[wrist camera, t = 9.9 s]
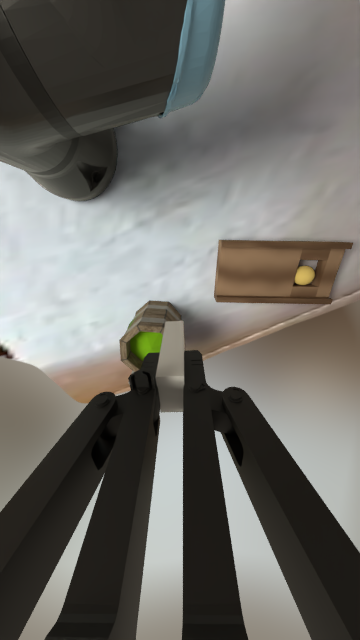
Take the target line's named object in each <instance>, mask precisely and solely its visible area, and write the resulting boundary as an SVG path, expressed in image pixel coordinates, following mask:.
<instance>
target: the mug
mask: <svg viewBox="0 0 360 640" xmlns="http://www.w3.org/2000/svg"><path fill="white" fill-rule="evenodd" d="M167 321H181V315H180V314H179V312H178V311H177V310H176V309H175V308H174V307H173V306H172V305H171V304H170V303H169V302H162V301H148V302H147V303H146V304H145V305H144V306H143V307H142V308H140V309H139V310H138V311H137V312H136V315H135V317H134V319H133V320H132V322H131V323H130V324H129V326H128V329H127V331H126V333H125V335H124V336H123V337H122V338H121V339H120V354H121V361H122V362H123V363H124V364H125V365H127V366H128V367H129V368H130V369H131V370H133V371H132V373H134V372H136V371H138V370H141V368H142V364H143V361H144V357H145V356H146V355H147V354H148V353H157V352H160V350H161V344H162V339H163V333H164V328H165V322H167ZM129 384H130V383H129Z"/></svg>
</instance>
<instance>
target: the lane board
mask: <svg viewBox="0 0 360 640" xmlns="http://www.w3.org/2000/svg"><path fill="white" fill-rule="evenodd" d="M352 245H353V243H350V242H318V241H250V240H219V246H218V257H217V268H216V279H215V290H214V298H215V300H216V302H236V303H291V304H331V303H332V300H333V299H331V298H329V294H330V292H331V289H332V286H333V283H334V280H335V277H336V274H337V272H338V269H339V266H340V263H341V260H342V257H343V255H344V252H345V249H351V248H352ZM300 260H318V263H317V267H316V270H315V277H314V279H313V280H312V283H311V284H306V285H299V284H293V283H294V280H295V276H296V272H297V268H298V264H299V261H300Z"/></svg>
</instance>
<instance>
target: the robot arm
mask: <svg viewBox="0 0 360 640" xmlns="http://www.w3.org/2000/svg"><path fill="white" fill-rule="evenodd" d="M224 6H225V0H0V161H1V162H4V163H6V164H9V165H11V166H14V167H17V168H19V169H22V170H24V171H26V172H27V173H28V174H29V175H30V176H31V177H32V178H33V179H34V180H35V181H36V182H37V183H38V184H39V185H40V186H42V187H43V188H44V189H46V190H47V191H49V192H51V193H53V194H55V195H57V196H59V197H62V198H66V199H69V200H73V201H86V200H90V199H92V198H95V197H97V196H98V195H100V194H101V193H102V192H103V191H104V190H105V189H106V188H107V186H108V185H109V183H110V182H111V180H112V178H113V175H114V172H115V168H116V163H117V143H116V137H115V133H114V129H113V128H115V127H118V126H122V125H125V124H129V123H132V122H136V121H140V120H143V119H147V118H150V117H154V116H158V117H159V118H163V117H165V116H166V115H167V114H168V113H169V112H171V111H174V110H177V109H180V108H183V107H186V106H188V105H191V104H193V103H195V102H196V101H197V100H198V99H199V98H200V97H201V95H202V94H203V92H204V91H205V89H206V87H207V85H208V83H209V81H210V78H211V75H212V72H213V68H214V64H215V60H216V56H217V51H218V45H219V40H220V34H221V28H222V21H223V14H224ZM128 379H129V383H130V388H131V391H130V392H128V393H125V394H122V395H119V396H115V395H114V393H112V392H103V393H100V394H98V395H96V396H95V397H94V398H93V399H92V400H91V401H90V402H89V404H88V405H87V406H86V407H85V409H84V410H83V411H82V412H81V414H80V415H79V416H78V417H77V418H76V420H75V421H74V422H73V423H72V424H71V426H70V427H69V428H68V429H67V431H66V432H65V433H64V434H63V436H62V437H61V438H60V439H59V441H58V442H57V443H56V444H55V446H54V447H53V448H52V449H51V450H50V452H49V453H48V454H47V455H46V457H45V458H44V459H43V460H42V462H41V463H40V464H39V465H38V466H37V468H36V469H35V470H34V471H33V473H32V474H31V475H30V476H29V478H28V479H27V480H26V481H25V482H24V484H23V485H22V486H21V487H20V489H19V490H18V491H17V492H16V494H15V495H14V496H13V497H12V499H11V500H10V501H9V502H8V503H7V505H6V506H5V507H4V508H3V510H2V511H1V512H0V640H18V639H19V637H20V635H21V633H22V631H23V629H24V627H25V625H26V623H27V621H28V619H29V618H30V616H31V614H32V611H33V610H34V608H35V606H36V604H37V602H38V600H39V598H40V596H41V594H42V593H43V591H44V589H45V587H46V585H47V583H48V581H49V579H50V577H51V575H52V573H53V571H54V569H55V567H56V566H57V564H58V562H59V560H60V558H61V556H62V554H63V552H64V550H65V548H66V546H67V545H68V543H69V541H70V539H71V537H72V535H73V533H74V531H75V529H76V527H77V525H78V523H79V521H80V520H81V518H82V516H83V514H84V512H85V510H86V508H87V506H88V504H89V502H90V500H91V498H92V496H93V495H94V493H95V491H96V489H97V487H98V485H99V483H100V481H101V479H102V477H103V475H104V478H103V481H102V484H101V487H100V490H99V494H98V497H97V500H96V503H95V506H94V510H93V513H92V516H91V519H90V522H89V526H88V529H87V532H86V535H85V538H84V541H83V544H82V548H81V551H80V554H79V557H78V561H77V564H76V567H75V570H74V573H73V576H72V580H71V583H70V586H69V589H68V592H67V596H66V599H65V602H64V605H63V608H62V611H61V613H60V615H59V618H58V620H57V622H56V623H55V625H54V626H53V628H52V629H51V631H50V632H49V633H48V635H47V636H46V638H45V640H136V629H137V620H138V611H139V602H140V593H141V585H142V576H143V567H144V557H145V550H146V541H147V532H148V523H149V514H150V504H151V497H152V488H153V479H154V470H155V462H156V453H157V443H158V435H159V426H160V416H159V412H160V410H161V412H183V628H182V640H248V637H247V633H246V629H245V625H244V621H243V616H242V609H241V603H240V598H239V590H238V584H237V577H236V571H235V564H234V557H233V551H232V544H231V538H230V531H229V524H228V518H227V512H226V505H225V498H224V491H223V485H222V479H221V472H220V465H219V459H218V452H217V445H216V439H215V432H214V430H216V431H219V432H221V434H222V436H223V439H224V441H225V443H226V445H227V448H228V450H229V452H230V454H231V457H232V459H233V461H234V464H235V466H236V468H237V470H238V472H239V474H240V477H241V479H242V482H243V484H244V486H245V489H246V491H247V493H248V495H249V498H250V500H251V502H252V505H253V507H254V509H255V511H256V514H257V516H258V518H259V520H260V523H261V525H262V527H263V530H264V532H265V534H266V536H267V539H268V541H269V543H270V546H271V548H272V550H273V552H274V555H275V557H276V559H277V561H278V564H279V566H280V568H281V570H282V573H283V575H284V577H285V580H286V582H287V584H288V586H289V589H290V591H291V593H292V596H293V598H294V600H295V602H296V605H297V607H298V609H299V612H300V614H301V616H302V618H303V621H304V623H305V625H306V628H307V630H308V632H309V634H310V637H311V639H312V640H360V553H359V551H358V550H357V549H356V547H355V546H354V544H353V543H352V541H351V540H350V538H349V537H348V536H347V534H346V533H345V531H344V530H343V529H342V527H341V526H340V524H339V523H338V521H337V520H336V519H335V517H334V516H333V514H332V513H331V512H330V510H329V509H328V507H327V506H326V504H325V503H324V502H323V500H322V499H321V497H320V496H319V495H318V493H317V492H316V490H315V489H314V487H313V486H312V485H311V483H310V482H309V480H308V479H307V478H306V476H305V475H304V473H303V472H302V470H301V469H300V468H299V466H298V465H297V464H296V462H295V461H294V459H293V458H292V456H291V455H290V453H289V452H288V451H287V449H286V448H285V446H284V445H283V444H282V442H281V441H280V439H279V438H278V436H277V435H276V434H275V432H274V431H273V429H272V428H271V427H270V425H269V424H268V422H267V421H266V419H265V418H264V417H263V415H262V414H261V412H260V411H259V409H258V408H257V407H256V406H255V404H254V402H253V401H252V400H251V398H250V397H249V395H248V394H247V393H246V392H245V391H244V390H242V389H240V388H237V387H229V388H227V389H225V390H224V391H223V392H222V391H217V390H215V389H212V388H211V387H210V386H208V384H207V383H206V380H205V374H204V367H203V360H202V354H201V353H200V352H199V351H198V350H193V351H185V340H184V322H183V321H167V322H165V328H164V333H163V339H162V344H161V350H160V352H157V353H148V354H147V355H146V356H145V357H144V361H143V364H142V368H141V370H138V371H136V372H134V373H132V374H131V375H130V377H129V378H128ZM104 473H105V474H104Z"/></svg>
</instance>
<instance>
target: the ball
mask: <svg viewBox="0 0 360 640" xmlns="http://www.w3.org/2000/svg"><path fill="white" fill-rule="evenodd" d="M314 277H315V272H314V270H313V269H312V268H311V267H309V266H300V267H298V268H297V272H296V276H295V280H294V282H295V283H296V284H299V285H306V284H309V283H310V282H311V281H312V280H313V279H314Z"/></svg>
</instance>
